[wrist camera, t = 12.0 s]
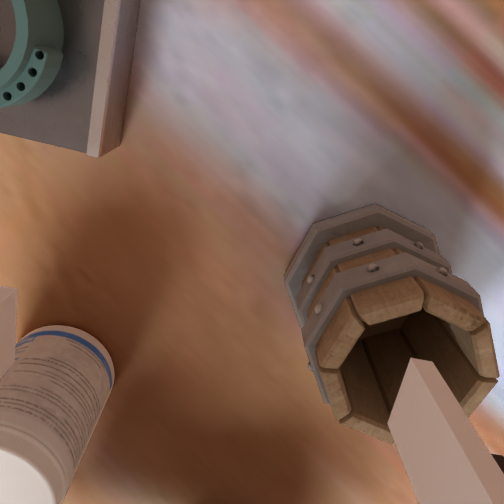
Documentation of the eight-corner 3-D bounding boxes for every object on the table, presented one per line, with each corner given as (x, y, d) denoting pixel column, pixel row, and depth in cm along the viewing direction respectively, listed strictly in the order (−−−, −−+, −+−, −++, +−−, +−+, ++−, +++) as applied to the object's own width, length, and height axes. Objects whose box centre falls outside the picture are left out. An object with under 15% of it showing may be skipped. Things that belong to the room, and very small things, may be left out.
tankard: (270, 236, 40) (277, 326, 26) (419, 188, 39) (510, 256, 25) (334, 419, 47) (367, 567, 33) (463, 384, 46) (555, 525, 32)
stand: (120, 145, 38) (98, 158, 33) (-63, 101, 37) (-116, 107, 31) (146, -41, 33) (125, -61, 28) (-62, -97, 32) (-123, -129, 27)
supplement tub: (23, 308, 43) (-86, 421, 29) (127, 337, 44) (69, 459, 30) (9, 394, 46) (-96, 531, 33) (106, 419, 47) (44, 562, 34)
